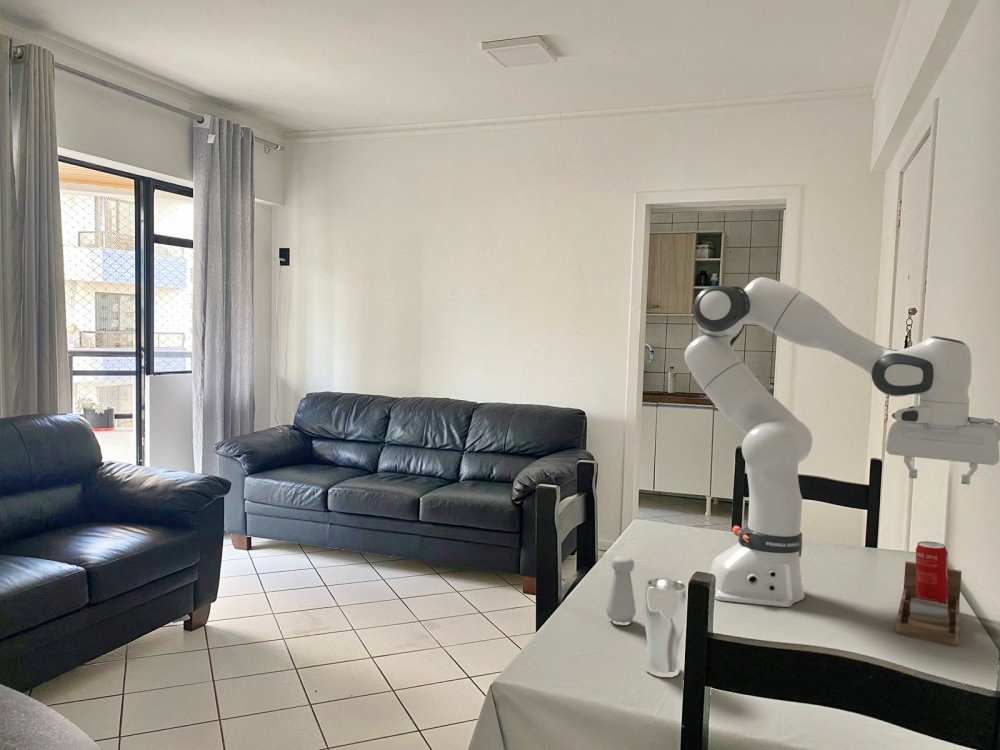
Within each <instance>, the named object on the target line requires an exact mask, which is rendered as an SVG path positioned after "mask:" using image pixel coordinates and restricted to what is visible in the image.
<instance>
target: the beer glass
mask: <svg viewBox="0 0 1000 750" xmlns="http://www.w3.org/2000/svg"><path fill="white" fill-rule="evenodd" d="M645 585H646V586H645V594H644V604H643V617H644V628H645V635H646V636H645V637H646V644H647V646H646V648H647V649H646V655H645V659H644V660H645V661H644V664H646V665H647V667H649V668H650V669H652V670H654V671H657V672H661V673H667V672H668V673H669V672H675V671H677V670H678V669H679V667H680V659H679V655H680V645H681V641H682V637H683V633H684V629H685V624H686V623H685V622H686V616H687V615H686V614H687V594H686V593H687V592H686V591H687V590H686V589H687V586H686V584H685V583H684V582H682V581H679V580H678V579H674V578H668V577H653V578H649V579H647V580H646V583H645ZM680 668H681V667H680Z"/></svg>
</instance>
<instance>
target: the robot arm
mask: <svg viewBox="0 0 1000 750" xmlns="http://www.w3.org/2000/svg"><path fill="white" fill-rule="evenodd" d="M692 314H693V318H694V320H695V322H696V325H697V328H698V335H697V337H696V338H695V339H693V340H692V341H691V342H690V343H689V344H688V346H687V347H686V349H685V352H684V355H683V357H684V358H683V359H684V362H685V364H686V365H687V368H688V370H689V372H690V373H691V375H692V376H693V378H694V380H695V381H696V383H697V385H698V386H699V387H700V389H701V390H702V391H703V393H704V394H705V395H706V396H707V397H708V399H709V400H710V401H711V402H712V403H713V405H714V406H715V407H716V408H717V410H718V411H719V412H720V414H721V415H722V416H723V417H724V418H725V419H726V420H727V421H728V422H730V423H732V424H733V425H735V426H736V427H737V428H738V429H739V430H741V431H742V432H743V434H745V435H746V436H745V437H744V439H743V440H742V443H741V453H742V457H743V460H744V461H745V465H746V466H745V468H746V475H747V481H748V484H747V485H748V494H749V497H748V499H749V500H748V517H747V519H748V520H747V525H746V526H745V527H744V528H741V527H740V526H738V525H734V526H733V527H732V529H731V532H732V534H733V535H734V536H737V537H738V542H737V543H736V544H733V546H731V547H729V548H727V549H726V550H725V551H723V552H721V553H720V554H718V555H716V556H715V557H714V559H713V561H712V563H711V566H710V571H709V574H710V573H712V574H714V575H715V576H716V578H717V582H716V597H715V598H714V599H715V600H718V601H724V602H731V603H732V602H733V603H734V602H735V603H742V604H743V603H744V604H750V605H751V604H754V605H762V606H763V605H764V606H773V607H782V608H790V607H792V605H793V604H795V603H797V602H799V601H802V600H803V599H805V591H804V586H803V581H802V574H801V564H800V563H801V561H800V558H801V557H802V550H803V533H802V532H801V527H802V526H801V525H802V509H803V508H802V507H803V496H802V494H801V490H800V483H799V473H798V470H799V464H800V463H801V462H803V461H804V460H805V459H807V457H808V456H809V454H810V452H811V449H812V446H813V436H812V432H811V430H810V429H809V428H808V427H807V425H806V424H804V423H803V422H801V420H799V419H798V418H797V417H796V416H795V415H794V414H793V413H792V412H791V411H790V410H789V408H787V407H786V406H785V405H784V404H783V403H781V402H780V401H779V400H778V399H777V398H776V397H775V396H773V395H772V394H771V393H770V391H768V390H767V389H766V387H765V386H764V385H762V383H761V382H760V381H759V379H758V378H757V377H756V376H755V374H754V373H753V372H752V371H751V370H750V369H749V368H748V366H747V365H746V364H745V363H744V361H742V359H741V358H740V357H739V356H738V355H737V354H736V352H735V351H734V349H733V348H732V346H733V345H734V343H735V342H736V341H737V339H738V338H739V337H740V335H741V334H742V333H743V331H744V329H745V325H748V324H750V325H756V326H759V327H762V328H764V329H765V330H767V331H769V332H770V333H772V334H774V335H776V336H778V337H779V338H781V339H783V340H784V341H788V342H790V343H793V344H795V345H798V346H801V347H807V348H814V349H819V350H824V351H827V352H831V353H833V354H835V355H837V356H839V357H841V358H842V359H845V360H846V361H849V362H851V363H852V364H854V365H855V366H857V367H859V368H860V369H862V370H864V371H866V372H867V373H868V374H870V376H871V380H872V382H873V385H874V386H875V387H876V389H877V390H879V391H880V392H881V393H883V394H884V395H887V396H891V397H894V398H895V397H896V398H898V397H905V396H909V395H918V396H919V404H918V405H915V406H914V405H912V406H909V407H904V408H900V409H897V410H896V411H895V413H894V419H895V421H894V422H893V423H892V424H891V426H890V427H889V430H888V433H887V438H886V444H885V451H886V452H887V454H889V455H891V456H899V457H900V456H903V463H905V466H906V468H907V469H908V478H909V479H918V469H916V468H914V467H913V466H912V463H911V462H912V461H913V458H921V459H932V460H940V461H949V462H960V463H969V465H968V467H969V469H970V470H969V471H968V473H966V474H963V473H962V474H961V481H960V482H961V485H968V486H970V484H971V477H972V476H973V475H974V473H975V472H976V471H977V470H978V466H979V465H980V464H981V465H989V466H995V465H997V464H998V463H1000V444H999V442H1000V422H998V421H996V420H995V419H994V418H981V417H972V416H969V414H970V413H969V412H970V411H969V410H970V398H969V393H968V392H969V387H970V385H971V381H972V353H971V352H972V351H971V349H970V347H969V346H968V345H967V344H966V343H964V342H963V341H961V340H957V339H954V338H953V339H952V338H950V337H949V338H947V337H942V336H935V335H934V336H929V337H928V338H926V339H924V340H922V341H920V342H919V343H916V344H914V345H912V346H908V347H905V348H903V349H891V348H887V347H885V346H882V345H879V344H878V343H876V342H874V341H873V340H872V341H871V340H870V339H868V338H866V337H864V336H862V335H861V334H859V333H857V332H855V331H853V330H852V329H850V328H849V327H847V326H846V325H844V324H843V323H842V322H841V321H839V319H838V318H837V317H835V316H834V314H832V313H831V311H830V310H828V309H827V308H826V307H825V306H824V305H823V304H821V303H820V302H818V301H817V300H816V299H814V298H813V297H811V296H810V295H808V294H806V293H805V292H802V291H801V290H798V289H797V288H795V287H793V286H791V285H788V284H786V283H783V282H781V281H779V280H775V279H772V278H770V277H769V278H768V277H763V276H762V277H761V276H760V277H757V278H754V279H753V280H752V281H750V282H749V283H748V284H747V285H746V286H745V287H744V288H742V287H741V286H728V285H727V286H725V285H712V286H709V287H707V288H704V289H703V290H701V291H700V292H699V293H698V295H697V296H696V298H695V300H694V303H693V306H692Z"/></svg>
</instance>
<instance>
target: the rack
mask: <svg viewBox="0 0 1000 750" xmlns="http://www.w3.org/2000/svg"><path fill="white" fill-rule="evenodd" d="M903 580H904V581H903V590H902V595H901V598H900V603H899V608H898V611H897V615H896V616H897V617H896V626H895V633H896V634H899V635H904V636H908V637H913V638H917V639H921V640H927V641H931V642H933V643H938V644H939V643H940V644H944V645H948V646H953V647H959V642H960V641H959V640H960V639H959V638H960V604H961V603H960V600H961V598H960V596H961V585H962V570H960V569H954V568H953V569H952V568H948V613H949V626H954V633H951V632H949V633H947V632H942V631H938V630H933V629H928V628H924V627H919V626H914V625H910V624H908V623H905V622H904V623H903V622H902V621H903V617H905V616H906V617H909V613H910V603H911V598H916V562H911V561H908V560H905V565H904V579H903Z"/></svg>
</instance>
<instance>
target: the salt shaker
mask: <svg viewBox="0 0 1000 750" xmlns="http://www.w3.org/2000/svg"><path fill="white" fill-rule="evenodd" d="M611 567H612V569H613V576H612V581H611V584H610V589H609V593H608V596H607V600H606V605H605V613H606V615H607V617H609V618H610V619H611V620H612V621H616V622H622V623H625V622H631V623H632V621H633V619H634V617H635V615H636V614H637V613H636V604H635V603H636V602H635V598H634V590H633V585H632V584H633V583H632V576H631V572H633V571H634V568H635V561H634V560H633V558H631V557H630V556H626V555H625V556H624V555H617V556H615V557H613V559H612V560H611ZM609 618H608V619H609Z"/></svg>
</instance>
